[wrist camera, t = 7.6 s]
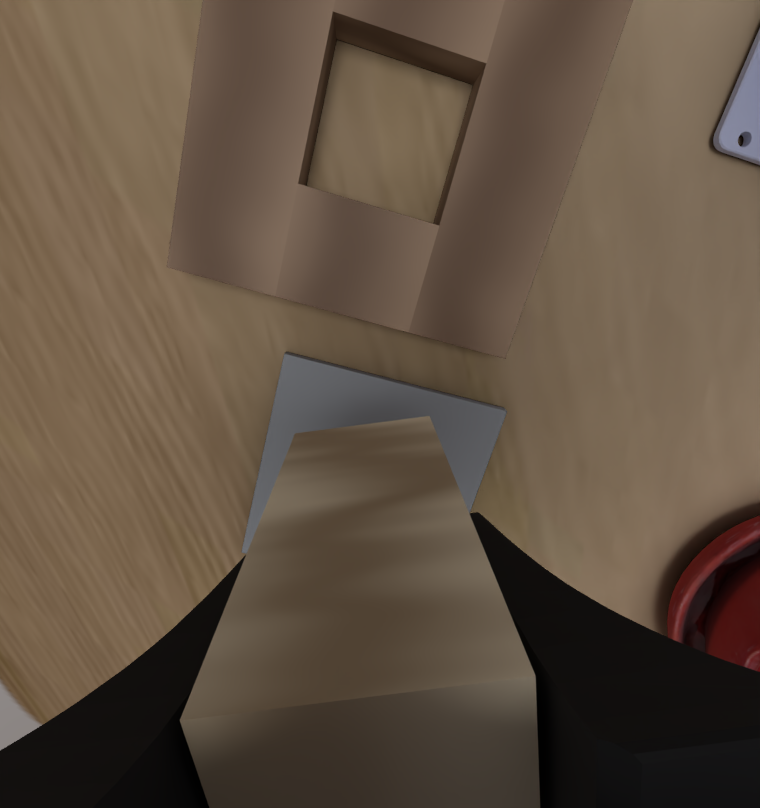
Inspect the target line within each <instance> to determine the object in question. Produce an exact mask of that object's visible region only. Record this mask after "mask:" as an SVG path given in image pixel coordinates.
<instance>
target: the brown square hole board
mask: <svg viewBox="0 0 760 808" xmlns="http://www.w3.org/2000/svg"><path fill="white" fill-rule="evenodd" d="M632 2H633V0H203V2H202V10H201V17H200V24H199V32H198V39H197V47H196V54H195V62H194V69H193V76H192V84H191V91H190V99H189V106H188V114H187V121H186V128H185V136H184V143H183V151H182V158H181V166H180V173H179V180H178V188H177V195H176V203H175V210H174V217H173V225H172V232H171V240H170V247H169V255H168V262H167V267H168V268H172V269H175V270H179V271H183V272H187V273H190V274H194V275H198V276H201V277H205V278H209V279H212V280H216V281H220V282H224V283H227V284H231V285H235V286H238V287H242V288H246V289H249V290H253V291H257V292H261V293H264V294H268V295H272V296H275V297H279V298H283V299H286V300H290V301H294V302H297V303H301V304H305V305H309V306H312V307H316V308H320V309H323V310H327V311H331V312H334V313H338V314H342V315H346V316H349V317H353V318H357V319H360V320H364V321H368V322H371V323H375V324H379V325H383V326H386V327H390V328H394V329H397V330H401V331H405V332H408V333H412V334H416V335H419V336H423V337H427V338H431V339H434V340H438V341H442V342H445V343H449V344H453V345H456V346H460V347H464V348H468V349H471V350H475V351H479V352H482V353H486V354H490V355H493V356H497V357H501V358H505V359H506V356H507V353H508V350H509V348H510V345H511V342H512V339H513V336H514V334H515V331H516V328H517V325H518V322H519V320H520V317H521V314H522V311H523V308H524V306H525V303H526V300H527V297H528V294H529V292H530V289H531V286H532V283H533V280H534V277H535V275H536V272H537V269H538V266H539V263H540V261H541V258H542V255H543V252H544V249H545V247H546V244H547V241H548V238H549V235H550V233H551V230H552V227H553V224H554V221H555V219H556V216H557V213H558V210H559V207H560V205H561V202H562V199H563V196H564V193H565V190H566V188H567V185H568V182H569V179H570V176H571V174H572V171H573V168H574V165H575V162H576V160H577V157H578V154H579V151H580V148H581V146H582V143H583V140H584V137H585V134H586V132H587V129H588V126H589V123H590V120H591V118H592V115H593V112H594V109H595V106H596V103H597V101H598V98H599V95H600V92H601V89H602V87H603V84H604V81H605V78H606V75H607V73H608V70H609V67H610V64H611V61H612V59H613V56H614V53H615V50H616V47H617V45H618V42H619V39H620V36H621V33H622V31H623V28H624V25H625V22H626V19H627V16H628V14H629V11H630V8H631V5H632ZM337 39H338V40H341V41H344V42H347V43H350V44H353V45H356V46H359V47H362V48H365V49H368V50H371V51H374V52H377V53H380V54H383V55H386V56H389V57H392V58H395V59H398V60H401V61H404V62H407V63H410V64H413V65H416V66H419V67H422V68H425V69H428V70H431V71H434V72H437V73H440V74H442V75H445V76H448V77H451V78H454V79H457V80H460V81H463V82H466V83H469V84H472V85H473V87H472V91H471V94H470V98H469V101H468V105H467V108H466V112H465V115H464V119H463V122H462V126H461V129H460V133H459V136H458V140H457V143H456V147H455V150H454V154H453V157H452V161H451V164H450V168H449V171H448V175H447V178H446V182H445V185H444V189H443V192H442V196H441V199H440V203H439V206H438V209H437V213H436V216H435V220H434V223H433V224H432V223H429V222H426V221H422V220H419V219H416V218H412V217H409V216H405V215H402V214H399V213H395V212H392V211H389V210H385V209H382V208H379V207H375V206H372V205H368V204H365V203H362V202H358V201H355V200H352V199H348V198H345V197H342V196H338V195H335V194H332V193H328V192H325V191H321V190H318V189H315V188H311V187H308V186H306V185H307V180H308V175H309V170H310V165H311V161H312V156H313V151H314V146H315V141H316V136H317V132H318V127H319V122H320V117H321V112H322V108H323V103H324V98H325V93H326V88H327V83H328V79H329V74H330V69H331V64H332V59H333V55H334V50H335V45H336V40H337Z"/></svg>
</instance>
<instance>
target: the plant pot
mask: <svg viewBox="0 0 760 808" xmlns="http://www.w3.org/2000/svg"><path fill="white" fill-rule="evenodd" d="M667 631H668V638H670V639H673V640H675V641H677V642H680V643H682V644H685V645H687V646H690V647H692V648H695V649H697V650H700V651H702V652H705V653H707V654H710V655H712V656H715V657H717V658H720V659H723V660H725V661H728V662H731V663H734V664H737V665H740V666H743V667H746V668H749V669H752V670H755V671H758V672H760V516H757V517H754V518H752V519H749V520H747V521H744V522H742V523H740V524H738V525H736V526H734V527H733V528H731V529H729V530H728V531H726V532H724V533H723V534H721V535H720V536H718V537H717V538H716V539H714V540H713V541H712V542H711V543H710V544H708V545H707V546H706V547H705V548H704V549H703V550H702V551H701V552H700V553H699V554H698V555H697V556H696V557H695V558H694V559H693V560H692V561H691V563H690V564H689V565H688V567H687V568H686V569H685V571H684V572H683V574H682V575H681V577H680V579H679V580H678V582H677V584H676V586H675V588H674V591H673V594H672V596H671V600H670V604H669V609H668V618H667Z"/></svg>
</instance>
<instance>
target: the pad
mask: <svg viewBox="0 0 760 808" xmlns="http://www.w3.org/2000/svg"><path fill="white" fill-rule="evenodd" d="M506 413H507V411H506V410H505V408H503V407H499V406H495V405H491V404H487V403H483V402H479V401H476V400H472V399H468V398H464V397H460V396H456V395H452V394H448V393H445V392H441V391H437V390H433V389H429V388H425V387H421V386H418V385H414V384H410V383H406V382H402V381H398V380H394V379H390V378H387V377H383V376H379V375H375V374H371V373H367V372H363V371H360V370H356V369H352V368H348V367H344V366H340V365H336V364H332V363H329V362H325V361H321V360H317V359H313V358H309V357H305V356H302V355H298V354H294V353H290V352H286V353H285V354H284V358H283V363H282V367H281V372H280V377H279V381H278V386H277V390H276V395H275V400H274V404H273V409H272V414H271V418H270V423H269V427H268V432H267V437H266V441H265V446H264V451H263V455H262V460H261V464H260V469H259V474H258V478H257V483H256V488H255V492H254V497H253V502H252V506H251V511H250V515H249V520H248V525H247V529H246V534H245V539H244V543H243V548H242V553H247V552H248V549H249V547H250V544H251V542H252V539H253V537H254V534H255V532H256V529H257V527H258V524H259V522H260V519H261V517H262V514H263V512H264V509H265V507H266V504H267V502H268V499H269V497H270V494H271V492H272V489H273V487H274V484H275V482H276V479H277V477H278V474H279V472H280V469H281V467H282V465H283V462H284V460H285V457H286V455H287V452H288V450H289V447H290V445H291V442H292V440H293V437H294V435H295V433H302V432H309V431H317V430H325V429H332V428H340V427H348V426H355V425H363V424H371V423H378V422H386V421H394V420H401V419H409V418H417V417H425V416H430V418H431V421H432V423H433V426H434V428H435V431H436V433H437V436H438V438H439V440H440V443H441V445H442V448H443V450H444V453H445V455H446V458H447V460H448V463H449V465H450V467H451V470H452V472H453V475H454V477H455V480H456V482H457V485H458V487H459V489H460V492H461V494H462V497H463V499H464V502H465V504H466V507H467V509H468V512H469V513H470V510H471V508H472V505H473V502H474V500H475V497H476V494H477V492H478V489H479V486H480V483H481V481H482V478H483V475H484V473H485V470H486V467H487V465H488V462H489V459H490V456H491V454H492V451H493V448H494V446H495V443H496V440H497V437H498V435H499V432H500V429H501V427H502V424H503V421H504V419H505V416H506Z"/></svg>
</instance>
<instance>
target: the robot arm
mask: <svg viewBox="0 0 760 808" xmlns="http://www.w3.org/2000/svg"><path fill="white" fill-rule="evenodd" d="M740 135H742V136H743V139H744V141H743V145H742V146H739V144H738V137H739V136H740ZM713 143H714V146H715V148H716V149H717V150H718V151H720V152H723V153H726V154H729V155H731V156H734V157H737V158H740V159H743V160H746V161H749V162H752V163H755V164H758V165H760V29H759V31H758V33H757V36H756V38H755V40H754V43H753V45H752V47H751V50H750V52H749V54H748V57H747V59H746V61H745V64H744V66H743V68H742V71H741V73H740V75H739V78H738V80H737V82H736V85H735V87H734V89H733V92H732V94H731V96H730V99H729V101H728V103H727V106H726V108H725V110H724V113H723V115H722V117H721V120H720V122H719V125H718V127H717V129H716V132H715V134H714V138H713ZM470 516H471V519H472V521H473V524H474V526H475V529H476V531H477V534H478V536H479V539H480V541H481V543H482V546H483V548H484V551H485V553H486V556H487V558H488V561H489V563H490V566H491V568H492V570H493V573H494V575H495V578H496V580H497V583H498V585H499V588H500V590H501V592H502V595H503V597H504V600H505V602H506V605H507V607H508V610H509V612H510V615H511V617H512V619H513V622H514V624H515V627H516V629H517V632H518V634H519V637H520V639H521V642H522V644H523V646H524V649H525V651H526V654H527V656H528V659H529V661H530V664H531V666H532V668H533V671H534V673H535V676H536V701H537V729H538V758H539V786H540V808H760V672H758V671H755V670H752V669H749V668H746V667H743V666H740V665H737V664H734V663H731V662H728V661H725V660H723V659H720V658H717V657H715V656H712V655H710V654H707V653H705V652H702V651H700V650H697V649H695V648H692V647H690V646H687V645H685V644H682V643H680V642H677V641H675V640H673V639H670V638H668V637H666V636H664V635H661V634H659V633H657V632H655V631H652V630H650V629H648V628H646V627H644V626H642V625H640V624H638V623H636V622H634V621H632V620H630V619H628V618H626V617H624V616H622V615H620V614H618V613H616V612H614V611H612V610H610V609H608V608H607V607H605V606H603V605H601V604H599V603H598V602H596V601H594V600H593V599H591V598H589V597H588V596H586V595H584V594H582V593H581V592H579V591H577V590H576V589H574V588H573V587H571V586H569V585H568V584H566V583H565V582H563V581H562V580H560V579H559V578H557V577H556V576H555V575H553V574H552V573H550V572H549V571H548V570H546V569H545V568H543V567H542V566H541V565H539V564H538V563H537V562H535V561H534V560H533V559H532V558H531V557H529V556H528V555H527V554H526V553H524V552H523V551H522V550H521V549H519V548H518V547H517V546H516V545H515V544H513V543H512V542H511V541H510V540H509V539H508V538H506V537H505V536H504V535H503V534H502V533H501V532H500V531H499V530H497V529H496V528H495V527H494V526H493V525H492V524H491V523H490V522H489V521H488V520H487V519H485V518H484V517H483V516H482V515H481V514H480V513H470ZM245 557H246V555H245V556H244V558H243V559H242V560H241V561H240V562H239V563H238V564H237V565H236V566H235V567H234V568H233V569H232V570H231V572H230V573H229V574H228V575H227V576H226V577H225V578H224V579H223V580H222V581H221V582H220V583H219V584H218V585H217V586H216V587H215V588H214V589H213V590H212V591H211V592H210V593H209V594H208V595H207V597H205V598H204V599H203V600H202V601H201V602H200V603H199V604H198V605H197V606H196V607H195V608H194V609H193V610H192V611H191V612H190V613H189V614H188V615H187V616H186V617H185V618H183V619H182V620H181V621H180V622H179V623H178V624H177V625H176V626H175V627H174V628H173V629H172V630H171V631H170V632H168V633H167V634H166V635H165V636H164V637H163V638H162V639H160V640H159V641H158V642H157V643H156V644H155V645H153V646H152V647H151V648H150V649H148V650H147V651H146V652H145V653H143V654H142V655H141V656H140V657H138V658H137V659H136V660H135V661H134V662H132V663H131V664H130V665H128V666H127V667H126V668H125V669H123V670H122V671H121V672H119V673H118V674H116V675H115V676H114V677H112V678H111V679H109V680H108V681H107V682H105V683H104V684H102V685H101V686H100V687H98V688H97V689H95V690H94V691H93V692H91V693H90V694H88V695H87V696H86V697H84V698H83V699H81V700H80V701H79V702H77V703H76V704H74V705H73V706H71V707H70V708H68V709H67V710H65V711H64V712H62V713H60V714H59V715H57V716H56V717H54V718H53V719H51V720H50V721H48V722H47V723H45V724H43V725H42V726H40V727H39V728H37V729H35V730H34V731H32V732H30V733H29V734H27V735H25V736H24V737H22V738H21V739H19V740H17V741H16V742H14V743H12V744H11V745H9V746H7V747H6V748H4V749H2V750H1V751H0V808H209V805H208V802H207V799H206V796H205V793H204V790H203V787H202V785H201V782H200V779H199V776H198V773H197V770H196V767H195V764H194V761H193V758H192V755H191V752H190V749H189V746H188V743H187V741H186V738H185V735H184V732H183V729H182V726H181V723H180V719H181V716H182V714H183V711H184V709H185V706H186V704H187V701H188V699H189V696H190V694H191V691H192V689H193V686H194V684H195V681H196V679H197V676H198V674H199V671H200V669H201V666H202V664H203V661H204V659H205V656H206V654H207V651H208V649H209V646H210V644H211V641H212V639H213V636H214V634H215V631H216V629H217V626H218V624H219V621H220V619H221V617H222V614H223V612H224V609H225V607H226V604H227V602H228V599H229V597H230V594H231V592H232V589H233V587H234V584H235V582H236V579H237V577H238V574H239V572H240V569H241V567H242V564H243V562H244V559H245Z"/></svg>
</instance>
